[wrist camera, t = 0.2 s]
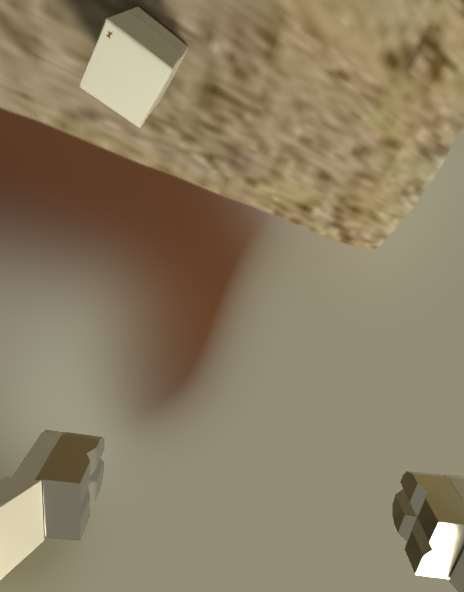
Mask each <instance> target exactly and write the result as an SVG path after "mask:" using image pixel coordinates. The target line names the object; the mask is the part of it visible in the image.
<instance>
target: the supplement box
mask: <svg viewBox="0 0 464 592" xmlns="http://www.w3.org/2000/svg"><path fill="white" fill-rule="evenodd" d="M187 50H188V46H187V45H185V44H184V43H183V42H182V41H181V40H180V39H178V38H177V37H176V36H175V35H173V34H172V33H171V32H170V31H168V30H167V29H166V28H164V27H163V26H162V25H161V24H159V23H158V22H157V21H156V20H154V19H153V18H152V17H151V16H149V15H148V14H147V13H146V12H144V11H143V10H142V9H140V8H139V7H135V8H133V9H130V10H127V11H125V12H122V13H119V14H117V15H114V16H111V17H109V18H106V19H105V22H104V24H103V27H102V30H101V32H100V35H99V37H98V40H97V43H96V45H95V48H94V50H93V53H92V56H91V58H90V61H89V63H88V66H87V68H86V71H85V73H84V76H83V78H82V81H81V83H80V88H82V89H83V90H85V91H86V92H88V93H89V94H91V95H92V96H93V97H95V98H96V99H98V100H99V101H101V102H102V103H104V104H105V105H107V106H108V107H109V108H111V109H112V110H114V111H115V112H117V113H118V114H120V115H121V116H123V117H124V118H126V119H127V120H129V121H130V122H131V123H133V124H134V125H136V126H137V127H139V128H140V127H141V126H142V124H143V123H144V122H145V120H146V119H147V117H148V116H149V114H150V113H151V112H152V110H153V109H154V108H155V106H156V105H157V104H158V102H159V101H160V100H161V98H162V96H163V94H164V93H165V91H166V89H167V87H168V85H169V84H170V82H171V80H172V78H173V76H174V75H175V73H176V71H177V69H178V67H179V65H180V63H181V61H182V60H183V58H184V56H185V54H186V52H187Z"/></svg>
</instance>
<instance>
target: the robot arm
mask: <svg viewBox="0 0 464 592" xmlns="http://www.w3.org/2000/svg"><path fill="white" fill-rule="evenodd" d="M103 451H104V438H103V437H98V436H91V435H83V434H76V433H69V432H58V431H51V430H45V431H44V432H43V433H41V435H40V436H39V438H38V439H37V441H36V442H35V444H34V445H33V447H32V448H31V450H30V451H29V453H28V454H27V455H26V457H25V458H24V460H23V461H22V463H21V465H20V466H19V468H18V469H17V471H16V472H15V473H14V475H13V477H5V478H3V479H1V480H0V580H1V579H2V578H3V577H4V576H5V575H6V574H7V573H9V571H11V570H12V569H13V568H14V567H15V566H16V565H17V564H18V563H20V562H21V561H22V560H23V559H24V558H25V557H26V556H27V555H28V554H30V553H31V552H32V551H33V550H34V549H35V548H36V547H37V546H38V545H39V544H40V543H42V542H43V541H44V538H53V539H67V540H80V539H81V537H82V535H83V532H84V530H85V527H86V525H87V522H88V519H89V517H90V505H91V504H92V503H93V502H95V501H96V499H97V496H98V494H99V491H100V487H101V483H102V479H103V471H104V462H103V461H102V459H101V456H102V453H103ZM401 484H402V486H403V490H401V491H400V492H398V493H397V494H396V495H395V498H394V501H393V519H394V524H395V527H396V529H397V532H398V533H399V534H400V535H401V536H402V537H403V538H404V539H405V540H406V541H407V543H406V546H405V551H406V553H407V556H408V558H409V561H410V562H411V565H412V567H413V570H414V572H415V574H416V575H422V576H429V577H437V578H445V579H449V582H450V583H451V584H452V585H453V586H454V587H455V588H456V590H457V591H458V592H464V478H463V477H461V476H451V475H438V474H428V473H419V472H410V471H407V472H406V473H405V474H404V475H403V477H402V479H401Z"/></svg>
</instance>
